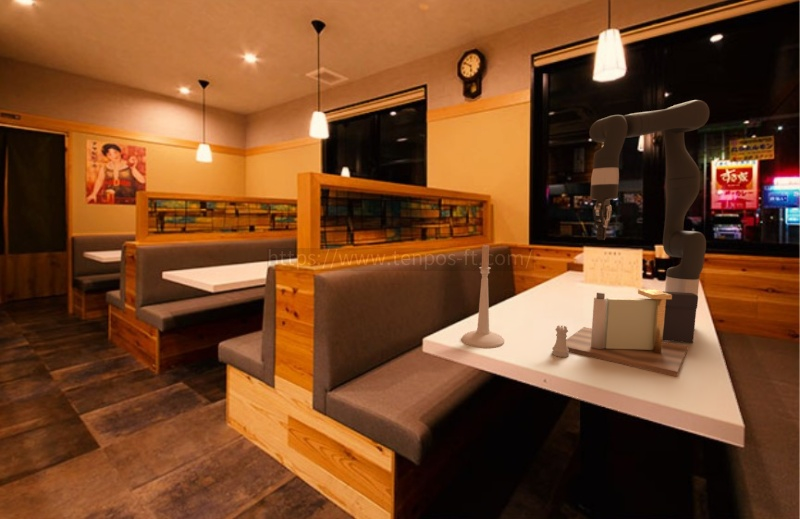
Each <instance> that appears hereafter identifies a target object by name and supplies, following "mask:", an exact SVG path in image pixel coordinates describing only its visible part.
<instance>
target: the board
mask: <svg viewBox="0 0 800 519" xmlns="http://www.w3.org/2000/svg"><path fill="white" fill-rule="evenodd" d="M591 337H592V327H586V326H583V327H582V328H580V329H579V330H577V331H576V332H575V333H573V334H572V335H571V336H569V337H568V338H566V345H567V348H568V349H569V352H568V353H573V354H577V355H581V354H582V356H587V357H590V358H591V357H592V358H593V359H594V358H595V359H600V360H603V361H608V362H613V363H617V364H620V365H625V366H629V367H634V368H639V369H642V370H646V371H652V372H655V373H660V374H664V375H668V376H672V377H678V375H679V373H680V371H681V370H680V369H681V367H682V364H683V362H684V360H685V358H686V355H687V352H688V348H689V346H687V345H682V344H677V343H673V342H668V341H662V351H661V353H660V354H659V353H654V352H653V350H642V349H610V348H605V347H604V348H603V349H596V348H593V347H591Z"/></svg>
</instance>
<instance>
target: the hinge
mask: <svg viewBox="0 0 800 519" xmlns="http://www.w3.org/2000/svg"><path fill="white" fill-rule="evenodd" d="M605 296H606V293H605V292H596V297H593V307H592V321H591V322H592V323H591V328H592V337H591V347H593V348H596V349H603V348H604V347H605V348H610V349H642V350H653V341H654V329H655V317H656V305H657V299H651V298H632V297H631V298H627V297H626V298H625V297H622V298H620V297H605Z"/></svg>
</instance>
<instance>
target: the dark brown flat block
mask: <svg viewBox="0 0 800 519" xmlns="http://www.w3.org/2000/svg"><path fill="white" fill-rule="evenodd" d="M662 292H665V290H664V291H662ZM665 293H668V294H671V295H672V299H666V305H665V317H664V328H663V340H662V341H663V342H675V343H685V344H686V343H687V344H693V343H694V337H695V336H694V335H695V328H694V327H696V318H695V316H696V317H697V309H698V302H699V295H698V296H697V295H695V294H693V293H682V292H665Z"/></svg>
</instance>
